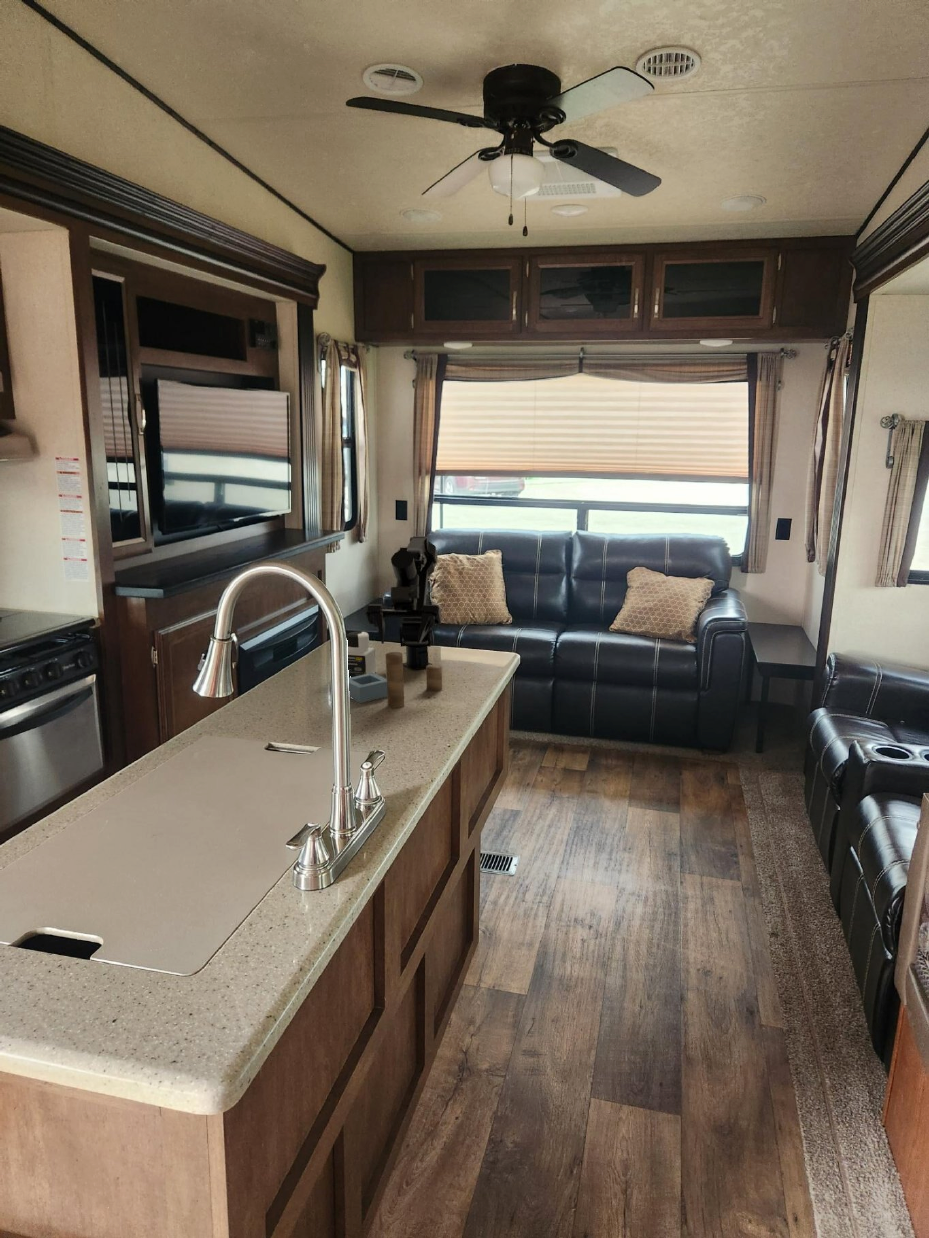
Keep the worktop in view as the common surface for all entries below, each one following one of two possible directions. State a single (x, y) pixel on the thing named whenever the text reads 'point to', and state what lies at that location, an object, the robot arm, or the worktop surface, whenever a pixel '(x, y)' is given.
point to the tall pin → (395, 679)
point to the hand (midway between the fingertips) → (400, 643)
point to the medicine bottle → (360, 654)
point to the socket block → (367, 687)
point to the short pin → (434, 677)
